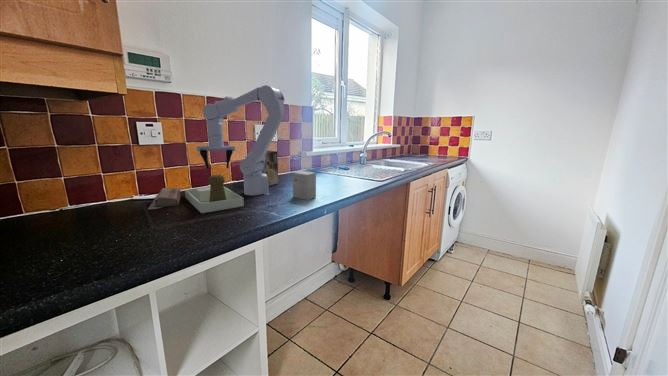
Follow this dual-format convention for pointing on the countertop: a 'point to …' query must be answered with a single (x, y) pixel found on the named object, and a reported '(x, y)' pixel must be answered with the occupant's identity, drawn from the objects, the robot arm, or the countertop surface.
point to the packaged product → (166, 198)
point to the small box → (304, 185)
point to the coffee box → (271, 167)
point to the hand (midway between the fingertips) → (217, 168)
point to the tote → (203, 207)
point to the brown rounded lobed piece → (217, 188)
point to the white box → (203, 194)
